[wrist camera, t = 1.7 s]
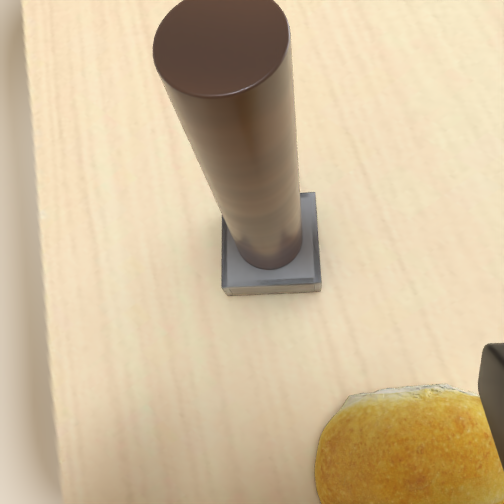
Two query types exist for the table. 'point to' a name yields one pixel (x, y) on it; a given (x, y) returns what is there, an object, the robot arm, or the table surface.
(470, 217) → the table surface
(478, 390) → the robot arm
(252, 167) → the handled stamp
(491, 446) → the bread roll
